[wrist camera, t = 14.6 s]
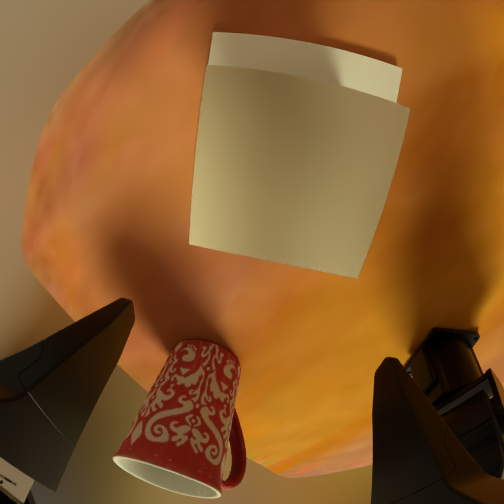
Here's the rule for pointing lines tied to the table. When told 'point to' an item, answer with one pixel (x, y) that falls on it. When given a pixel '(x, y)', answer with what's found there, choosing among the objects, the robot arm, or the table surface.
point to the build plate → (306, 62)
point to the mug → (189, 424)
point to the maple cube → (292, 168)
